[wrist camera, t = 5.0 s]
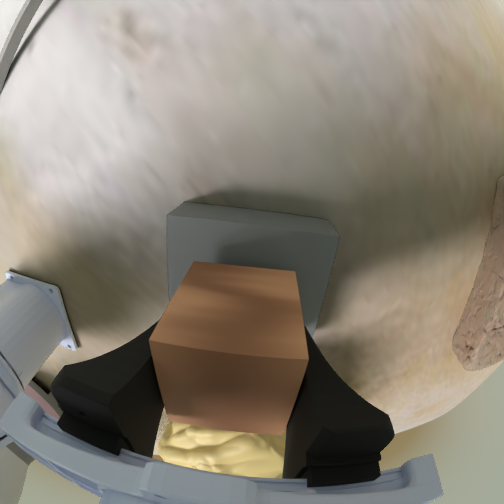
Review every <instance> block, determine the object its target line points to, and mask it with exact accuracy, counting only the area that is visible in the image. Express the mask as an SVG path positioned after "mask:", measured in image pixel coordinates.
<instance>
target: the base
mask: <svg viewBox="0 0 504 504" xmlns="http://www.w3.org/2000/svg"><path fill="white" fill-rule="evenodd" d="M339 237H340V236H339V235H338V233H337V232H336V230H335V229H334V227H333V226H332V224H331V223H330V221H329V220H326V219H320V218H313V217H306V216H299V215H292V214H285V213H277V212H270V211H262V210H254V209H245V208H237V207H228V206H219V205H209V204H199V203H189V202H183V203H182V204H181V205H179V206H178V207H177V208H175V209H174V210H173V211H171V212H170V213H169V214H168V215H167V268H168V290H169V303H170V301H171V299H172V297H173V296H174V294H175V292H176V290H177V289H178V287H179V285H180V284H181V282H182V280H183V278H184V277H185V275H186V273H187V272H188V270H189V268H190V267H191V265H192V263H193V262H194V261H199V262H208V263H218V264H227V265H237V266H247V267H257V268H267V269H277V270H288V271H295V273H296V279H297V285H298V291H299V297H300V303H301V309H302V316H303V322H304V325H305V326H306V328H307V330H308V332H309V333H310V335H311V337H313V334H314V331H315V328H316V325H317V321H318V318H319V314H320V311H321V308H322V304H323V301H324V297H325V293H326V290H327V286H328V282H329V278H330V274H331V271H332V267H333V263H334V259H335V254H336V250H337V246H338V242H339Z"/></svg>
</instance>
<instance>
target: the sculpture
mask: <svg viewBox="0 0 504 504" xmlns="http://www.w3.org/2000/svg"><path fill="white" fill-rule="evenodd" d="M285 441H286V428H285V431H284V433H283V435H273V434H257V433H245V432H235V431H227V430H219V429H212V428H206V427H200V426H194V425H189V424H184V423H179V422H174V421H169V422H168V424H167V425H166V426H165V428H164V433H163V435H162V437H161V439H160V441H159V443H158V452H159V454H160V456H161V457H162V458H163V459H164V462H167V463H171V464H175V465H180V466H184V467H189V468H193V469H198V470H204V471H209V472H215V473H222V474H229V475H237V476H247V477H259V478H278V479H282V474H283V465H284V454H285Z"/></svg>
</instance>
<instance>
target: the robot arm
mask: <svg viewBox="0 0 504 504" xmlns="http://www.w3.org/2000/svg"><path fill="white" fill-rule="evenodd" d="M5 275H6V279H7V280H6V281H5V282H4V283H2V284H1V285H0V451H1V450H2V449H3V448H4V447H5V446H6V445H7V444H9V443H11V442H13V441H14V442H15V443H16V444H17V445H18V446H19V447H20V448H21V449H22V450H24V451H25V452H26V453H28V454H29V455H30V456H32V457H33V458H35V459H36V460H38V461H39V462H40V463H42V464H44V465H45V466H47V467H48V468H50V469H51V470H53V471H54V472H56V473H57V474H59V475H61V476H62V477H64V478H66V479H67V480H69V481H71V482H72V483H74V484H76V485H78V486H80V487H81V488H83V489H85V490H87V491H89V492H91V493H93V494H95V495H97V496H99V497H101V500H100V502H99V504H428V503H430V502H432V501H434V500H436V499H437V498H439V497H441V496H443V490H442V486H441V482H440V478H439V475H438V471H437V468H436V464H435V461H434V458H433V454H428V455H424V456H421V457H417V458H413V459H411V460H409V461H407V462H405V463H404V464H403V465H402V466H401V467H399V468H394V469H389V470H384V471H380V467H379V463H378V461H380V460H381V455H380V452H381V451H382V450H383V449H384V448H385V447H386V446H387V445H388V444H389V443H390V442H391V441H392V439H393V438H394V435H395V434H394V430H393V426H392V423H391V420H390V418H389V415H388V414H386V413H384V412H383V411H381V410H379V409H378V408H376V407H374V406H373V405H371V404H370V403H369V402H367V401H366V400H364V399H363V398H362V397H361V396H359V395H358V394H357V393H356V392H355V391H353V390H352V389H351V388H350V387H349V386H348V385H347V384H346V383H345V382H344V381H343V380H342V379H341V378H340V377H339V376H338V375H337V374H336V372H335V371H334V370H333V369H332V367H331V366H330V365H329V363H328V362H327V361H326V359H325V358H324V356H323V355H322V353H321V352H320V350H319V349H318V347H317V346H316V344H315V342H314V340H313V339H312V337H311V335H310V333H309V332H308V330H307V328H306V326H305V325H304V329H305V336H306V342H307V349H308V357H309V361H308V364H307V367H306V370H305V374H304V377H303V380H302V383H301V386H300V389H299V392H298V395H297V398H296V401H295V403H294V406H293V409H292V412H291V415H290V417H289V420H288V423H287V426H286V441H285V454H284V465H283V474H282V479H278V478H259V477H247V476H237V475H229V474H222V473H215V472H209V471H204V470H198V469H193V468H189V467H184V466H180V465H175V464H171V463H167V462H163V461H160V460H156V459H153V458H152V456H153V450H154V445H155V440H156V436H157V431H158V427H159V423H160V419H161V415H162V411H163V408H164V403H163V399H162V395H161V392H160V388H159V384H158V380H157V376H156V372H155V367H154V363H153V358H152V354H151V349H150V344H149V339H150V337H151V335H152V333H153V331H154V329H155V328H156V326H157V324H158V322H159V321H158V322H156V323H155V324H154V325H152V326H151V327H150V328H149V329H147V330H146V331H145V332H143V333H142V334H140V335H139V336H137V337H136V338H135V339H133V340H131V341H130V342H128V343H126V344H125V345H123V346H121V347H119V348H117V349H115V350H113V351H110V352H108V353H106V354H104V355H101V356H99V357H96V358H93V359H90V360H87V361H83V362H79V363H75V364H70V365H65V366H64V367H63V368H62V370H61V371H60V372H59V374H58V375H57V376H56V378H55V379H54V381H53V382H52V384H51V386H50V388H51V392H52V394H53V396H54V398H55V399H56V401H57V403H58V404H59V406H60V407H61V409H62V410H63V411H64V412H63V414H62V415H61V417H60V419H59V420H58V419H56V418H54V417H53V416H51V415H49V414H47V413H46V412H45V411H44V409H43V408H42V406H41V405H40V404H39V403H38V402H37V401H35V400H34V399H33V398H31V397H29V396H28V395H27V394H26V393H25V391H24V389H25V388H26V386H27V385H28V384H29V382H30V381H31V380H32V378H33V377H34V376H35V374H36V373H37V372H38V370H39V369H40V368H41V366H42V365H43V364H44V363H45V361H46V360H47V359H48V357H49V356H50V355H51V354H52V353H53V351H54V350H55V349H56V348H57V346H58V345H61V346H63V347H66V348H68V349H71V350H73V351H76V350H77V349H78V346H77V344H76V341H75V338H74V335H73V332H72V330H71V327H70V323H69V320H68V317H67V314H66V311H65V307H64V304H63V300H62V296H61V293H60V290H59V288H58V287H57V286H54V285H51V284H48V283H44V282H41V281H38V280H35V279H32V278H29V277H25V276H22V275H19V274H16V273H14V272H11V271H6V272H5Z"/></svg>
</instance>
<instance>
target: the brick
mask: <svg viewBox="0 0 504 504" xmlns="http://www.w3.org/2000/svg"><path fill="white" fill-rule="evenodd" d="M491 225H492V226H491V228H490V231H489V234H488V237H487V241H486V244H485V250H484V253H483V258H482V262H481V264H480V266H479V269H478V273H477V276H476V279H475V282H474V288H473V289H472V291H471V293H470V296H469V299H468V302H467V304H466V307H465V309H464V312H463V314H462V316H461V319H460V322H459V325H458V327H457V331H456V333H455V335H454V338H453V342H452V347H453V351H454V352H455V354H456V355H457V358H458V361H459V362H460V363H461V364H462V366H463V367H464V369H465V370H466V371H475V370H481V369H483V368H486V367H489V366H491V365H494V364H496V363H497V362H499V361H501V360H504V175H502V176H500V177H499V178H498V182H497V189H496V195H495V198H494V204H493V211H492V224H491Z"/></svg>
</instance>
